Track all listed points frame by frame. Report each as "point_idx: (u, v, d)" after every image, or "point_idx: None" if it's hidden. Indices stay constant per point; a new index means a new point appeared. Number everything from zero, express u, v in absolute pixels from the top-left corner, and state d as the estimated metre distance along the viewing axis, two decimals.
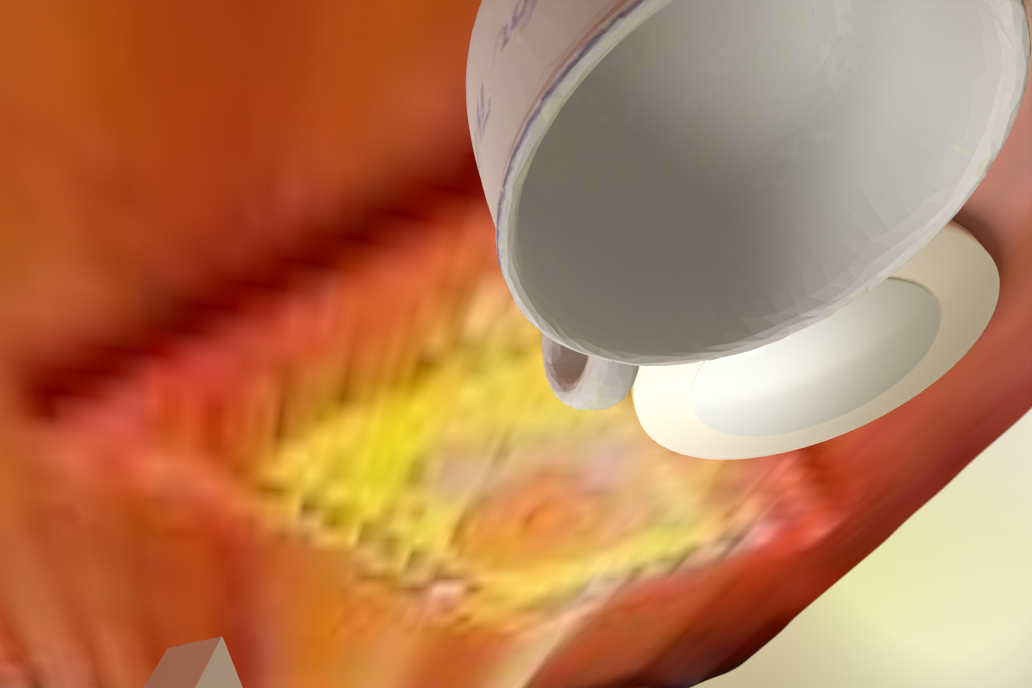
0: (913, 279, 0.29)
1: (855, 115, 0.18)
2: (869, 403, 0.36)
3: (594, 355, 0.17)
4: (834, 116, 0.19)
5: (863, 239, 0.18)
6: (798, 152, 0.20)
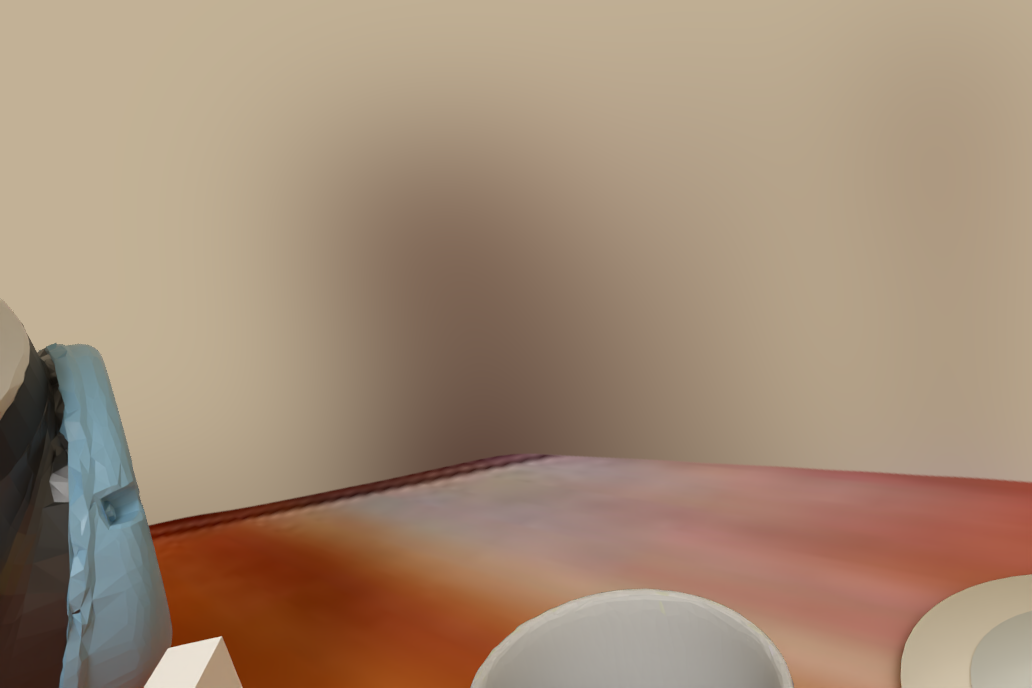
0: (979, 640, 0.31)
1: (700, 685, 0.28)
2: None
3: None
4: None
5: (734, 643, 0.26)
6: None
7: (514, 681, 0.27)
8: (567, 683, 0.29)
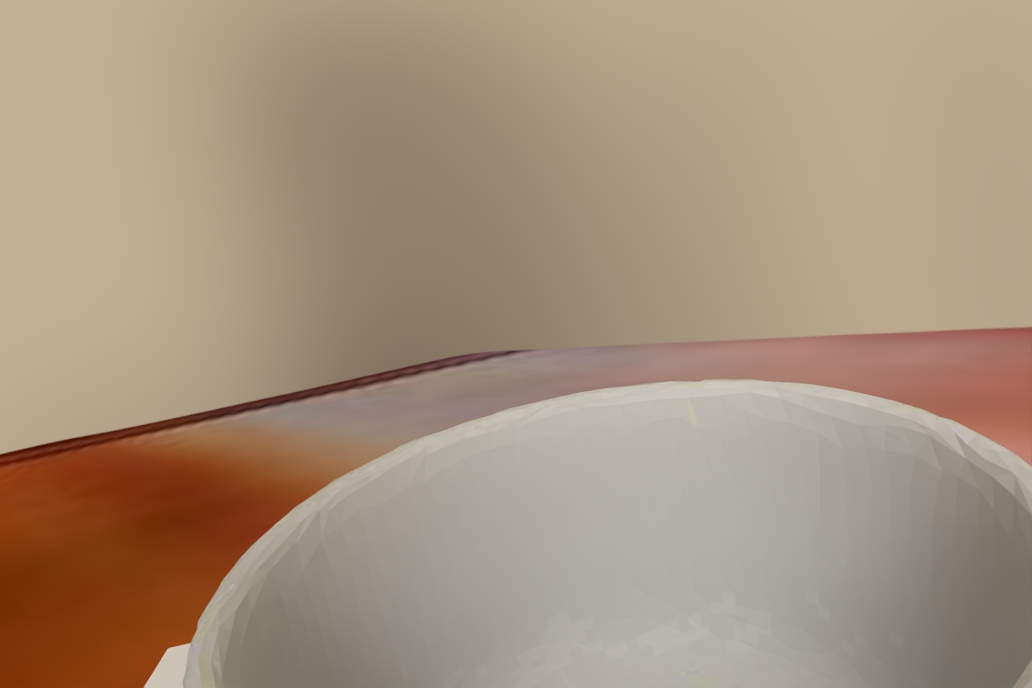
0: None
1: (769, 569, 0.14)
2: None
3: None
4: (792, 601, 0.14)
5: (849, 457, 0.12)
6: (856, 635, 0.13)
7: (385, 548, 0.13)
8: (506, 568, 0.15)
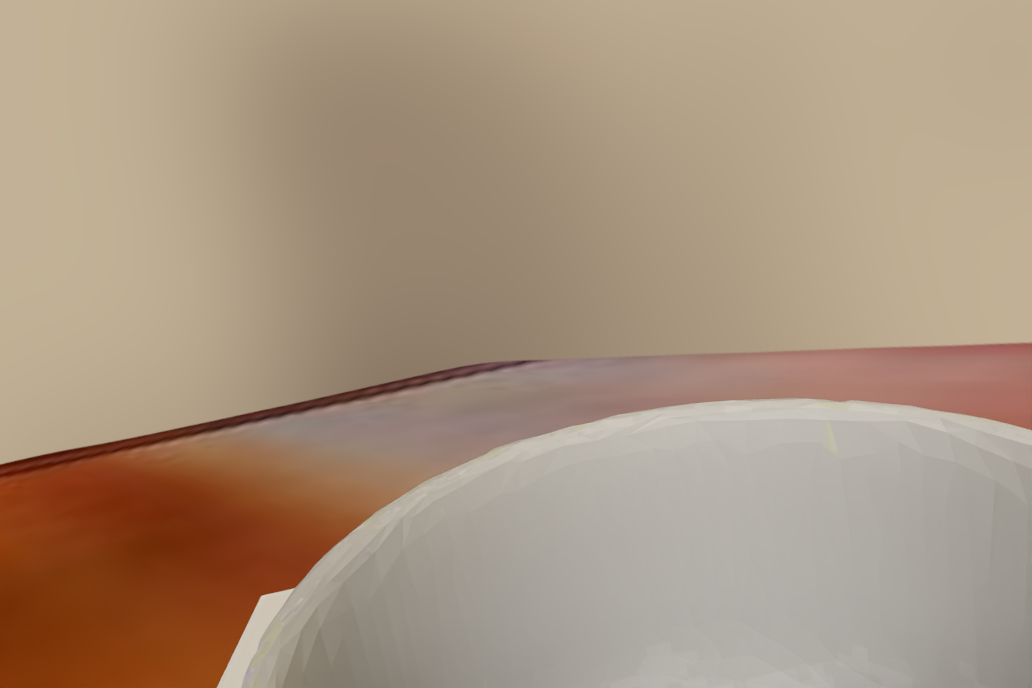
0: None
1: (914, 628, 0.12)
2: None
3: None
4: (939, 670, 0.12)
5: None
6: None
7: (472, 559, 0.12)
8: (603, 589, 0.14)
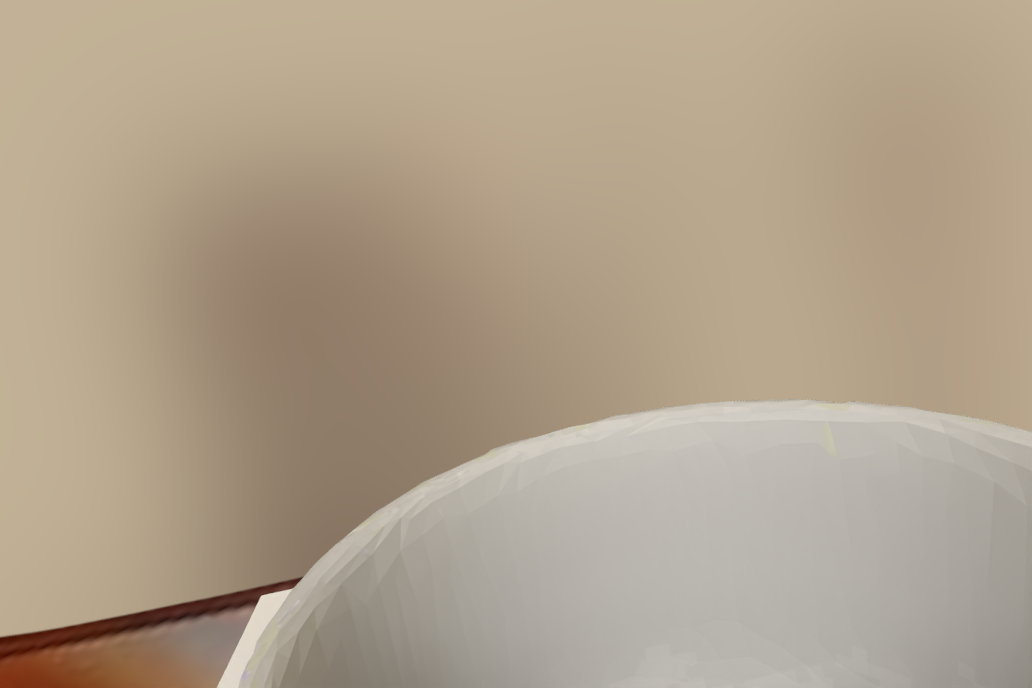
0: None
1: (913, 630, 0.12)
2: None
3: None
4: (939, 672, 0.12)
5: None
6: None
7: (471, 561, 0.12)
8: (602, 591, 0.14)
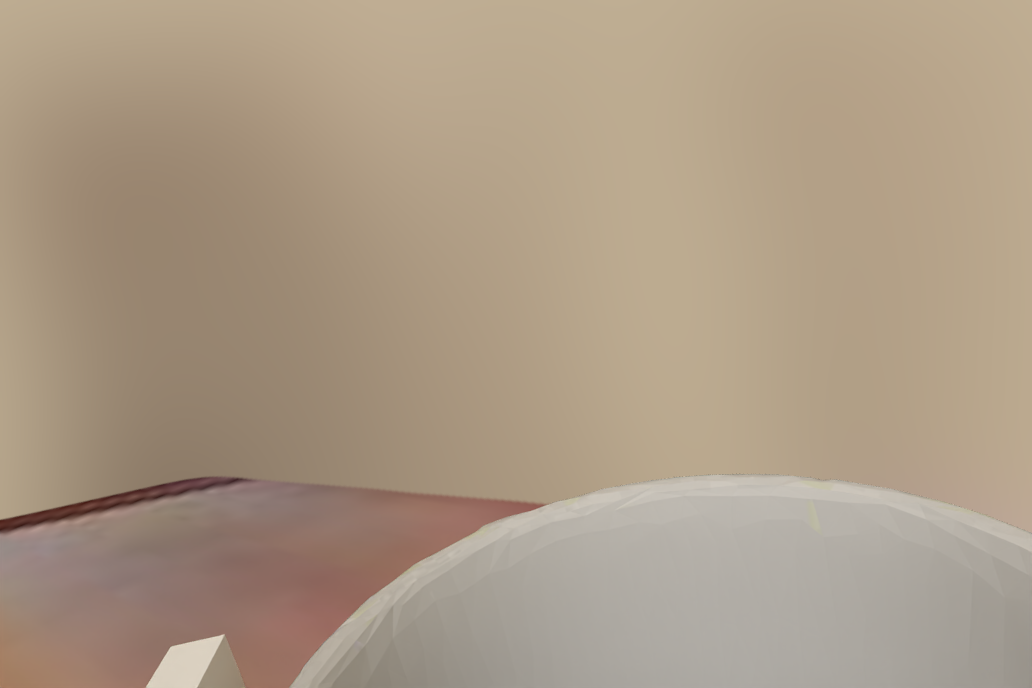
0: None
1: None
2: None
3: None
4: None
5: (1012, 609, 0.10)
6: None
7: (463, 640, 0.12)
8: (593, 660, 0.14)
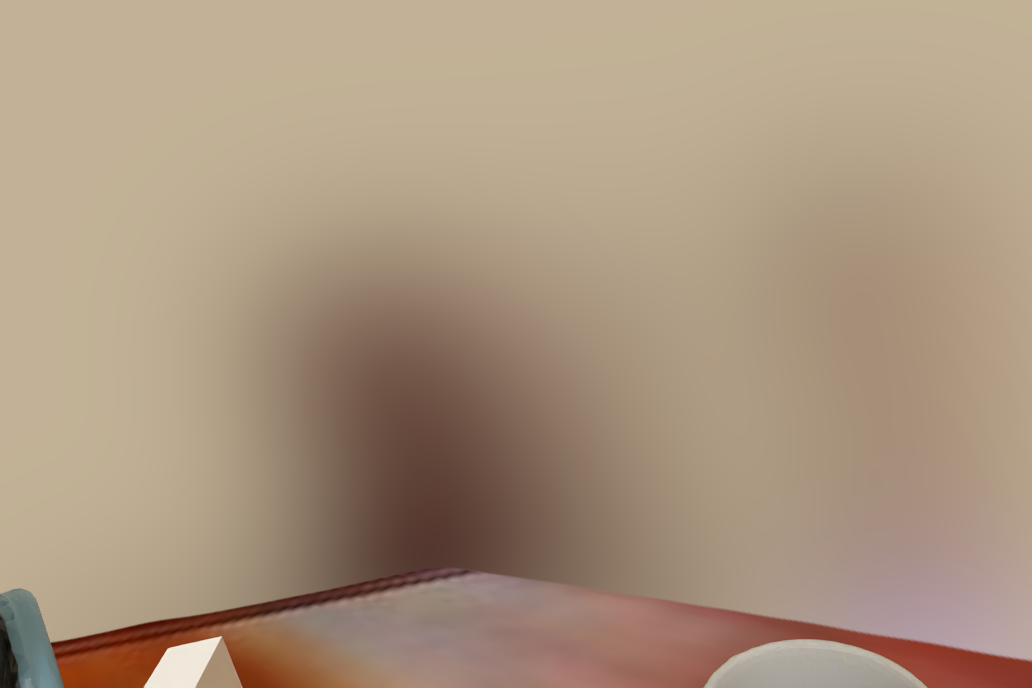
0: None
1: None
2: None
3: None
4: None
5: None
6: None
7: None
8: None
